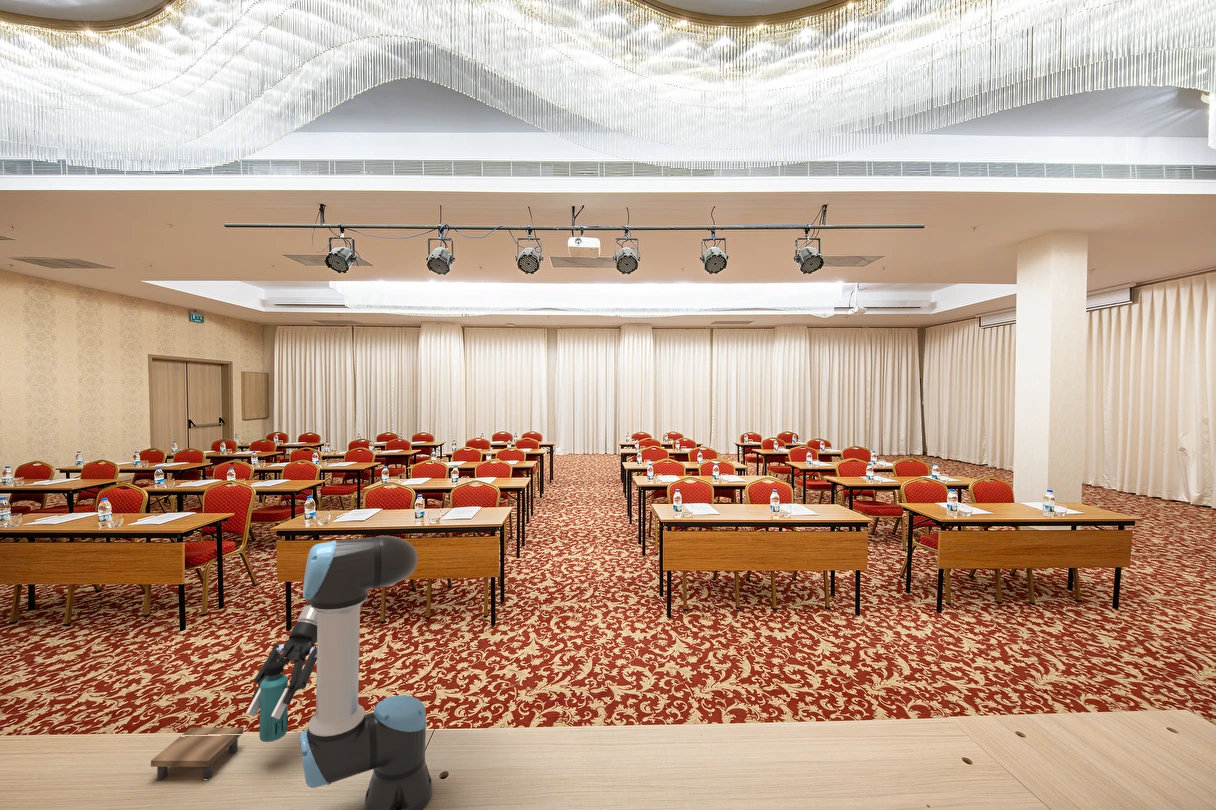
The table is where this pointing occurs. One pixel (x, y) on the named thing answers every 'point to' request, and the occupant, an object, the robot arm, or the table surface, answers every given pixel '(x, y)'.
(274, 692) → the beverage bottle
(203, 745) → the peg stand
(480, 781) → the table surface
